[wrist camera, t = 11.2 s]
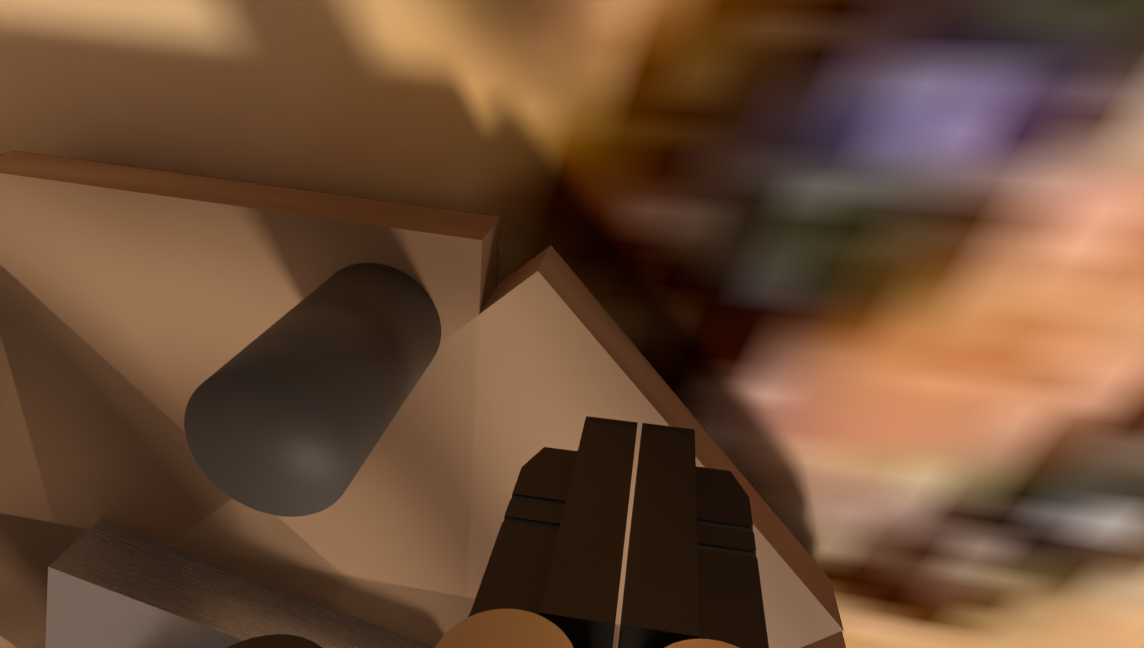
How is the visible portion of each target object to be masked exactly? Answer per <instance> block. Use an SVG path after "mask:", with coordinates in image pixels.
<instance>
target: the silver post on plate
mask: <svg viewBox="0 0 1144 648" xmlns="http://www.w3.org/2000/svg"><path fill="white" fill-rule="evenodd" d="M273 634H286V635H294V636H299V637H303V638H306V639H308V640H311V641H313V642H315V643H316V644H318V645H319V646H321V647H322V648H434V647H431V646H429V645H426V644H424V643H421V642H418V641H416V640H413V639H410V638H408V637H405V636H403V635H400V634H397V633H395V632H392V631H389V630H387V629H384V628H382V627H379V626H376V625H374V624H371V623H368V622H366V621H363V620H361V619H358V618H355V617H353V616H350V615H348V614H345V613H342V612H340V611H337V610H334V609H332V608H329V607H327V606H324V605H321V604H319V603H316V602H313V601H311V600H308V599H306V598H303V597H300V596H298V595H295V594H292V593H290V592H287V591H285V590H282V589H279V588H277V587H274V586H272V585H269V584H266V583H264V582H261V581H258V580H256V579H253V578H251V577H248V576H245V575H243V574H240V573H237V572H235V571H232V570H230V569H227V568H224V567H222V566H219V565H216V564H214V563H211V562H209V561H206V560H203V559H201V558H198V557H195V556H193V555H190V554H188V553H185V552H182V551H180V550H177V549H175V548H172V547H169V546H167V545H164V544H161V543H159V542H156V541H154V540H151V539H148V538H146V537H143V536H140V535H138V534H135V533H133V532H130V531H127V530H125V529H122V528H119V527H117V526H114V525H112V524H109V523H106V522H104V521H101V520H99V521H97V522H96V523H95V524H94V525H93V526H92V527H91V528H90V529H89V530H88V531H87V532H85V533H84V534H83V535H82V536H81V537H80V538H79V539H78V540H77V541H76V542H75V543H73V544H72V545H71V546H70V547H69V548H68V549H67V550H66V551H65V552H64V553H63V554H61V555H60V556H59V557H58V558H57V559H56V560H55V561H54V562H53V563H52V564H51V565H49V566H48V583H47V612H46V641H45V648H227V647H229V646H231V645H233V644H236V643H238V642H241V641H244V640H247V639H250V638H254V637H259V636H263V635H273Z"/></svg>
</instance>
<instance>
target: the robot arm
mask: <svg viewBox="0 0 1144 648" xmlns="http://www.w3.org/2000/svg"><path fill="white" fill-rule="evenodd" d="M637 424H638V422H630V421H622V420H614V419H606V418H598V417H590V416H586V419H585V423H584V427H583V431H582V435H581V439H580V444H579V448H578V451H572V450H564V449H557V448H549V447H544V448H542V449H541V450H540V451H539V452H538V453H537V454H536V455H535V456H534V457H532V458H531V459H530V460H529V461H528V462H527V463H526V464H525V465H524V466H522V467H521V470H520V473H519V476H518V479H517V482H516V484H515V487H514V490H513V493H512V499H510V502H509V504H508V507H507V510H506V513H505V516H504V522H502V524H501V527H500V530H499V533H498V536H497V538H496V541H495V544H494V547H493V550H492V553H491V556H490V558H489V561H488V564H487V567H486V570H485V573H484V575H483V578H482V581H481V584H480V587H479V590H478V593H477V595H476V598H475V601H474V604H473V607H472V610H471V612H470V614H469V616H468V618H466V619H464V620H462V621H461V622H459V623H458V624H456V625H455V626H454V627H452V628H451V629H450V630H449V631H448V632H447V633H446V634H445V635H444V636H443V637H442V638H441V640H440V641H439V642H438V644H437V646H436V647H435V648H613V640H614V631H615V622H616V613H617V604H618V595H619V586H620V578H621V569H622V560H623V551H624V542H625V533H626V524H627V515H628V506H629V497H630V487H631V478H632V469H633V460H634V451H635V442H636V433H637ZM227 648H322V647H321V646H319V645H318V644H316V643H315V642H313V641H311V640H308V639H306V638H303V637H299V636H294V635H286V634H273V635H263V636H259V637H254V638H250V639H247V640H244V641H241V642H238V643H236V644H233V645H231V646H229V647H227ZM618 648H769V644H768V636H767V629H766V621H765V613H764V605H763V598H762V590H761V582H760V575H759V567H758V559H757V558H756V544H755V536H754V532H753V521H752V513H751V506H750V498H749V496H748V495H747V493H746V492H745V491H744V489H743V488H742V486H741V485H740V484H739V482H738V481H737V479H736V478H735V477H734V475H733V474H732V472H731V471H728V470H720V469H712V468H705V467H697V466H696V458H695V430H694V429H688V428H680V427H672V426H664V425H656V424H648V423H642V430H641V439H640V447H639V456H638V465H637V474H636V483H635V492H634V500H633V509H632V518H631V527H630V536H629V546H628V555H627V565H626V574H625V584H624V593H623V603H622V613H621V622H620V632H619V642H618Z"/></svg>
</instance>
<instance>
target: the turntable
mask: <svg viewBox="0 0 1144 648" xmlns="http://www.w3.org/2000/svg"><path fill="white" fill-rule="evenodd" d="M499 235H500V217H497V216H490V215H483V214H475V213H468V212H461V211H453V210H446V209H439V208H431V207H424V206H417V205H409V204H402V203H395V202H387V201H380V200H373V199H365V198H358V197H351V196H343V195H336V194H328V193H321V192H314V191H306V190H299V189H292V188H284V187H277V186H270V185H262V184H255V183H248V182H240V181H233V180H226V179H218V178H211V177H204V176H196V175H189V174H182V173H174V172H167V171H160V170H152V169H145V168H138V167H130V166H123V165H116V164H108V163H101V162H94V161H86V160H79V159H72V158H64V157H57V156H50V155H42V154H35V153H28V152H20V151H13V152H9V153H5V154H1V155H0V648H45V641H46V612H47V583H48V566H49V565H51V564H52V563H53V562H54V561H55V560H56V559H57V558H58V557H59V556H60V555H61V554H63V553H64V552H65V551H66V550H67V549H68V548H69V547H70V546H71V545H72V544H73V543H75V542H76V541H77V540H78V539H79V538H80V537H81V536H82V535H83V534H84V533H85V532H87V531H88V530H89V529H90V528H91V527H92V526H93V525H94V524H95V523H96V522H97V521H99V520H101V521H104V522H106V523H109V524H112V525H114V526H117V527H119V528H122V529H125V530H127V531H130V532H133V533H135V534H138V535H140V536H143V537H146V538H148V539H151V540H154V541H156V542H159V543H161V544H164V545H167V546H169V547H172V548H175V549H177V550H180V551H182V552H185V553H188V554H190V555H193V556H195V557H198V558H201V559H203V560H206V561H209V562H211V563H214V564H216V565H219V566H222V567H224V568H227V569H230V570H232V571H235V572H237V573H240V574H243V575H245V576H248V577H251V578H253V579H256V580H258V581H261V582H264V583H266V584H269V585H272V586H274V587H277V588H279V589H282V590H285V591H287V592H290V593H292V594H295V595H298V596H300V597H303V598H306V599H308V600H311V601H313V602H316V603H319V604H321V605H324V606H327V607H329V608H332V609H334V610H337V611H340V612H342V613H345V614H348V615H350V616H353V617H355V618H358V619H361V620H363V621H366V622H368V623H371V624H374V625H376V626H379V627H382V628H384V629H387V630H389V631H392V632H395V633H397V634H400V635H403V636H405V637H408V638H410V639H413V640H416V641H418V642H421V643H424V644H426V645H429V646H431V647H434V648H435V647H436V646H437V644H438V642H439V641H440V640H441V638H442V637H443V636H444V635H445V634H446V633H447V632H448V631H449V630H450V629H451V628H452V627H454V626H455V625H456V624H458V623H459V622H461V621H462V620H464V619H466V618H468V616H469V614H470V612H471V610H472V607H473V604H474V601H475V598H476V595H477V593H478V590H479V587H480V584H481V581H482V578H483V575H484V573H485V570H486V567H487V564H488V561H489V558H490V556H491V553H492V550H493V547H494V544H495V541H496V538H497V536H498V533H499V530H500V527H501V524H502V522H504V516H505V513H506V510H507V507H508V504H509V502H510V499H512V493H513V490H514V487H515V484H516V482H517V479H518V476H519V473H520V470H521V467H522V466H524V465H525V464H526V463H527V462H528V461H529V460H530V459H531V458H532V457H534V456H535V455H536V454H537V453H538V452H539V451H540V450H541V449H542V448H544V447H549V448H557V449H564V450H572V451H578V448H579V444H580V439H581V435H582V431H583V427H584V423H585V419H586V416H590V417H598V418H606V419H614V420H622V421H630V422H638V424H637V433H636V442H635V451H634V460H633V469H632V478H631V487H630V497H629V506H628V515H627V524H626V533H625V542H624V551H623V560H622V569H621V578H620V586H619V595H618V604H617V613H616V622H615V631H614V640H613V648H618V642H619V632H620V622H621V613H622V603H623V593H624V584H625V574H626V565H627V555H628V546H629V536H630V527H631V518H632V509H633V500H634V492H635V483H636V474H637V465H638V456H639V447H640V439H641V430H642V423H648V424H656V425H664V426H672V427H680V428H688V429H694V430H695V458H696V466H697V467H705V468H712V469H720V470H728V471H731V472H732V474H733V475H734V477H735V478H736V479H737V481H738V482H739V484H740V485H741V486H742V488H743V489H744V491H745V492H746V493H747V495H748V496H749V498H750V506H751V513H752V521H753V532H754V536H755V544H756V558H757V559H758V567H759V575H760V582H761V590H762V598H763V605H764V613H765V621H766V629H767V636H768V644H769V648H846V646H845V642H844V638H843V634H842V631H843V627H842V623H841V619H840V615H839V611H838V607H837V603H836V599H835V595H834V591H833V587H832V584H831V580H830V579H829V578H828V577H827V575H826V574H825V573H824V572H823V571H822V569H821V568H820V567H819V566H818V565H817V563H816V562H815V561H814V560H813V559H812V557H811V556H810V555H809V554H808V553H807V551H806V550H805V549H804V548H803V547H802V545H801V544H800V543H799V542H798V541H797V539H796V538H795V537H794V536H793V535H792V533H791V532H790V531H789V530H788V529H787V527H786V526H785V525H784V524H783V523H782V521H781V520H780V519H779V518H778V517H777V515H776V514H775V513H774V512H773V511H772V509H771V508H770V507H769V506H768V505H767V503H766V502H765V501H764V500H763V499H762V497H761V496H760V495H759V494H758V493H757V491H756V490H755V489H754V488H753V487H752V486H751V484H750V483H749V482H748V481H747V480H746V478H745V477H744V476H743V475H742V474H741V472H740V471H739V470H738V469H737V468H736V466H735V465H734V464H733V463H732V462H731V460H730V459H729V458H728V457H727V456H726V454H725V453H724V452H723V451H722V450H721V448H720V447H719V446H718V445H717V444H716V442H715V441H714V440H713V439H712V438H711V436H710V435H709V434H708V433H707V432H706V430H705V429H704V428H703V427H702V426H701V424H700V423H699V422H698V421H697V420H696V418H695V417H694V416H693V415H692V414H691V412H690V411H689V410H688V409H687V408H686V406H685V405H684V404H683V403H682V402H681V400H680V399H679V398H678V397H677V396H676V394H675V393H674V392H673V391H672V390H671V388H670V387H669V386H668V385H667V384H666V382H665V381H664V380H663V379H662V378H661V376H660V375H659V374H658V373H657V372H656V370H655V369H654V368H653V367H652V366H651V364H650V363H649V362H648V361H647V360H646V358H645V357H644V356H643V355H642V354H641V352H640V351H639V350H638V349H637V348H636V346H635V345H634V344H633V343H632V342H631V340H630V339H629V338H628V337H627V336H626V334H625V333H624V332H623V331H622V330H621V328H620V327H619V326H618V325H617V324H616V322H615V321H614V320H613V319H612V318H611V316H610V315H609V314H608V313H607V312H606V310H605V309H604V308H603V307H602V306H601V304H600V303H599V302H598V301H597V300H596V298H595V297H594V296H593V295H592V294H591V292H590V291H589V290H588V289H587V288H586V286H585V285H584V284H583V283H582V282H581V280H580V279H579V278H578V277H577V276H576V274H575V273H574V272H573V271H572V270H571V269H570V267H569V266H568V265H567V264H566V263H565V261H564V260H563V259H562V258H561V257H560V255H559V254H558V253H557V252H556V251H555V249H554V248H553V247H552V246H551V245H550V246H549V247H547V248H546V249H545V250H543V251H542V252H541V253H539V254H538V255H537V256H535V257H534V258H533V259H531V260H530V261H529V262H528V263H526V264H525V265H524V266H522V267H521V268H520V269H518V270H517V271H516V272H514V273H513V274H512V275H510V276H509V277H508V278H506V279H505V280H504V281H502V282H501V283H500V284H498V285H497V271H498V253H499Z"/></svg>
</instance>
